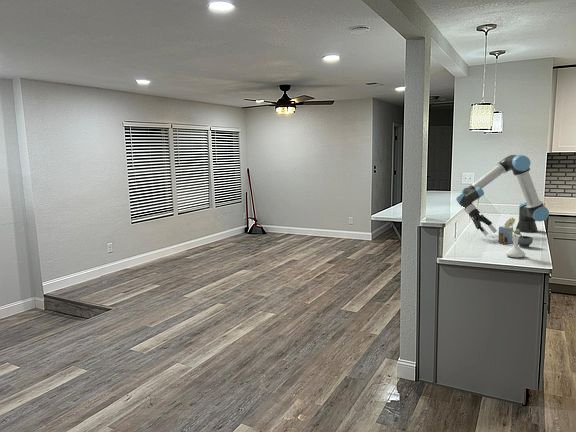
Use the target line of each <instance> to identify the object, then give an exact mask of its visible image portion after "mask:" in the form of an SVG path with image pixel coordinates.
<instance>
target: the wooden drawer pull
mask: <svg viewBox="0 0 576 432" xmlns="http://www.w3.org/2000/svg"><path fill="white" fill-rule="evenodd" d="M498 237H499V242H498V244H499V245H504V244H508V243H507V237H503V233H499V232H498Z"/></svg>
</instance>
